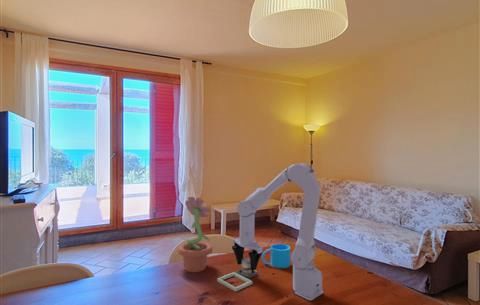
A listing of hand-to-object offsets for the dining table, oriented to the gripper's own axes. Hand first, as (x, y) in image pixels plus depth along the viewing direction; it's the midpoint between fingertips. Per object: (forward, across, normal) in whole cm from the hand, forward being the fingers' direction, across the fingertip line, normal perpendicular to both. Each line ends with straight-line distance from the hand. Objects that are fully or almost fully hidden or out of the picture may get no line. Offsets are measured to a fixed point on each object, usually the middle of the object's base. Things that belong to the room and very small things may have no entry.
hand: (246, 266), depth 107 cm
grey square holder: (+4, 0, 0) cm, 4 cm away
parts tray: (+4, -2, +8) cm, 9 cm away
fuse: (+3, 0, 0) cm, 3 cm away
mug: (+4, -1, -16) cm, 17 cm away
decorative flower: (+4, +18, +11) cm, 21 cm away
